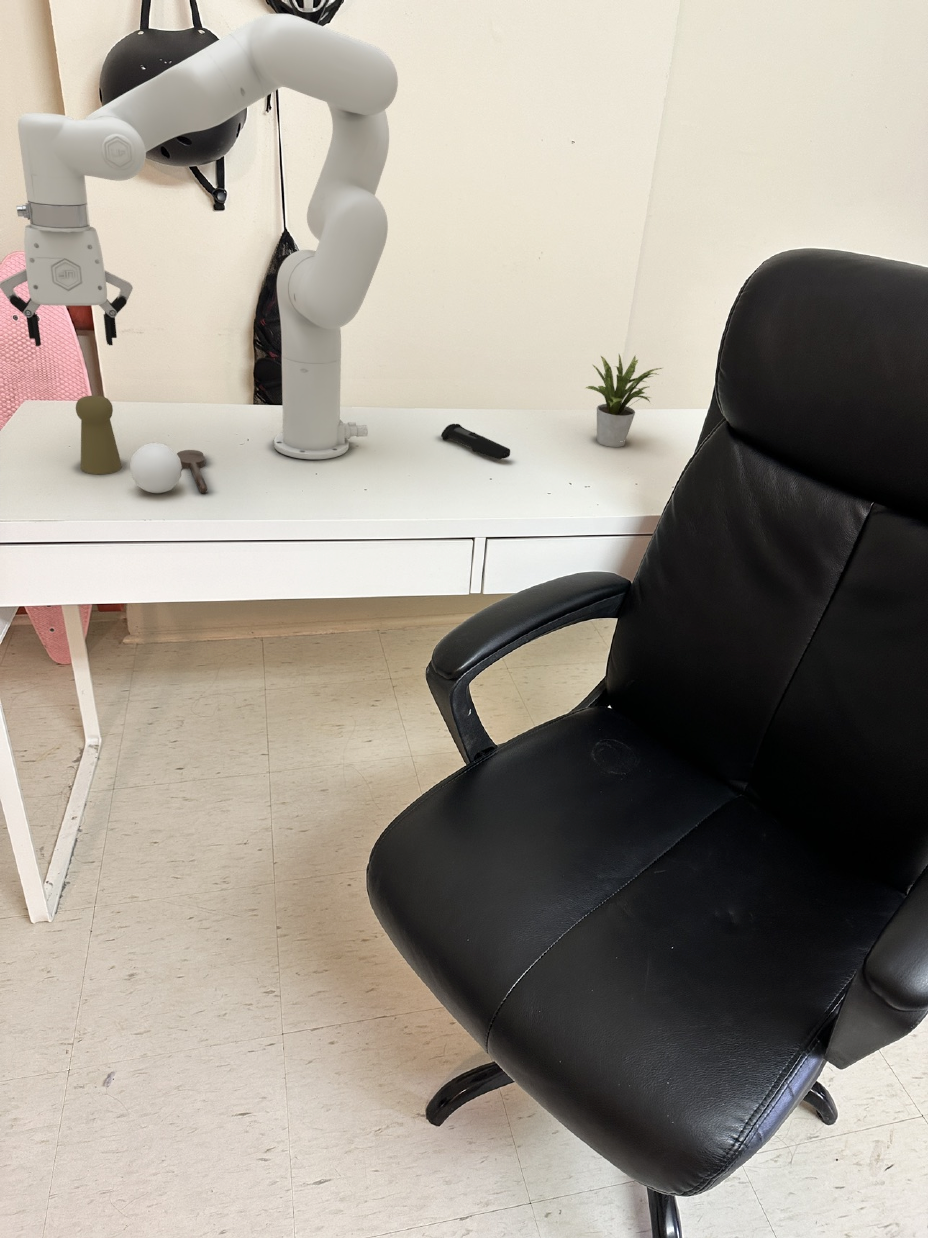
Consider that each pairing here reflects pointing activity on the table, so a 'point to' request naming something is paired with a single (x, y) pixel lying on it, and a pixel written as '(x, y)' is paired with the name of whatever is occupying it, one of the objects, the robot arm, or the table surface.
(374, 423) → the table surface
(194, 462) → the wooden spoon
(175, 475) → the white ovoid
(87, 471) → the cork
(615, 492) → the table surface
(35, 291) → the robot arm
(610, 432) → the house plant
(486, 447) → the electric trimmer
